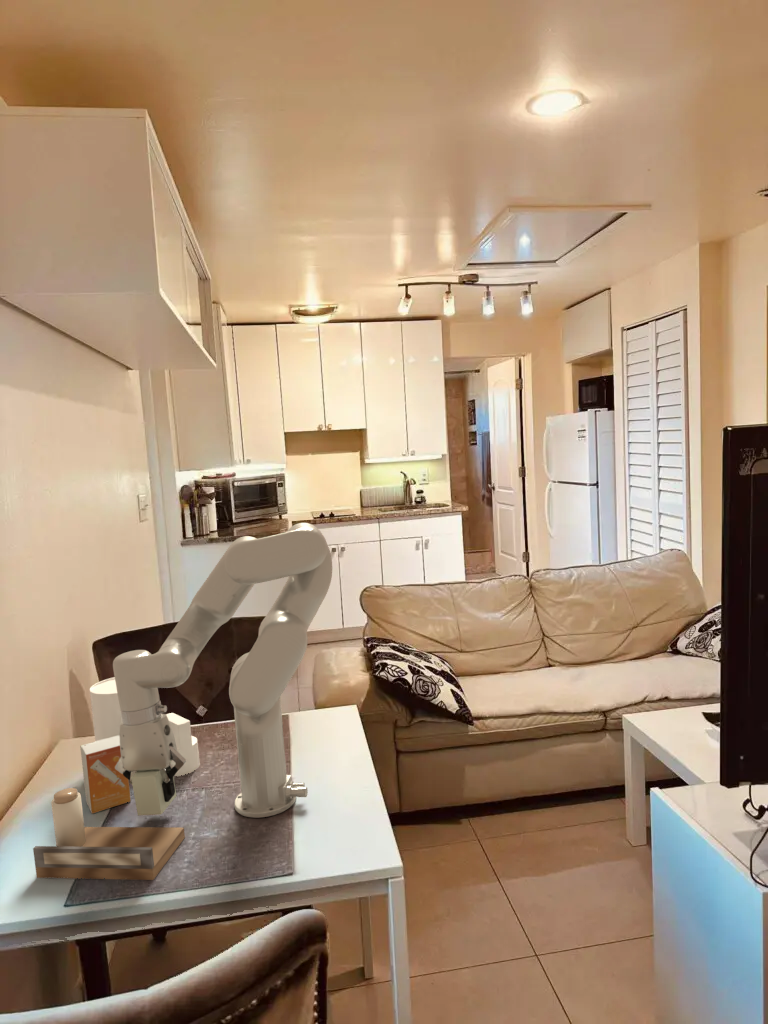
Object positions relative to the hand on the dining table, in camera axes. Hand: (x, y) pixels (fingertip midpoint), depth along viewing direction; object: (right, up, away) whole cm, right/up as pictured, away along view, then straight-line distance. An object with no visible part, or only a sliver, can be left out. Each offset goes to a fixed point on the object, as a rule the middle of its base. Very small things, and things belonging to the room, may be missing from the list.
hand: (156, 798), depth 139 cm
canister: (-16, -3, +27) cm, 32 cm away
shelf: (-4, -6, -12) cm, 14 cm away
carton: (0, -1, 0) cm, 2 cm away
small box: (-13, -5, +9) cm, 17 cm away
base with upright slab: (-2, -3, +23) cm, 24 cm away
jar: (-12, -4, -11) cm, 17 cm away
